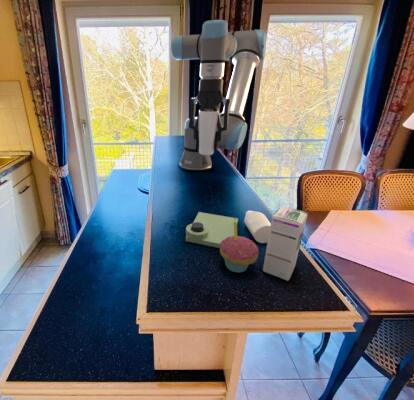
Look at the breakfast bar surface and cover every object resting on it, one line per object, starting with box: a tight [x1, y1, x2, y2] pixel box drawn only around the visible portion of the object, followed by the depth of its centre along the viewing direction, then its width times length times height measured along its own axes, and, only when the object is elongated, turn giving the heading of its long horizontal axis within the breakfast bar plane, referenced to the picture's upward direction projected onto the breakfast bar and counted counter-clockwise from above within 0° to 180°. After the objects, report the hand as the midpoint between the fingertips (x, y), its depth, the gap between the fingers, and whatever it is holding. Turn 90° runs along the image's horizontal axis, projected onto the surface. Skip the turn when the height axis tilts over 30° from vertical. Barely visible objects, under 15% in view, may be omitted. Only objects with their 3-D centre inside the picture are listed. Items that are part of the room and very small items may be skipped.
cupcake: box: [219, 217, 259, 273], centre depth 59 cm, size 9×8×12 cm
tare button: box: [191, 222, 203, 232], centre depth 71 cm, size 3×3×2 cm
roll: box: [243, 210, 271, 244], centre depth 74 cm, size 6×12×6 cm, turn 2°
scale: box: [184, 211, 239, 249], centre depth 74 cm, size 15×12×3 cm
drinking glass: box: [198, 108, 220, 156], centre depth 92 cm, size 7×7×15 cm
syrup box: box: [262, 205, 308, 282], centre depth 57 cm, size 6×6×14 cm
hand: (206, 149), depth 95 cm, fingers closed on drinking glass, 6 cm apart
